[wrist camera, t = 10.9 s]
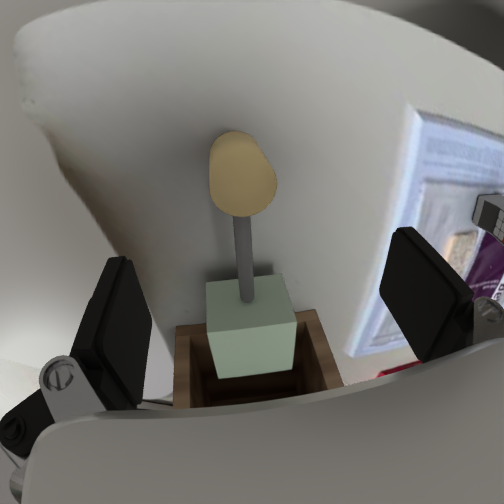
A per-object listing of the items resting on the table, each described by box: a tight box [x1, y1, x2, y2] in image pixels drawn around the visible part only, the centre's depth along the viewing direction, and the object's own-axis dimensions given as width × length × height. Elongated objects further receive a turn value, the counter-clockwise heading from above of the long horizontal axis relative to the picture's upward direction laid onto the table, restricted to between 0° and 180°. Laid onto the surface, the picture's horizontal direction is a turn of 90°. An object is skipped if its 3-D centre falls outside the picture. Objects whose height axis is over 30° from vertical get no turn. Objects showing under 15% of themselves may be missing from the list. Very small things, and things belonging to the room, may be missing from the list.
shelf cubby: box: [173, 310, 344, 409], centre depth 32 cm, size 18×16×14 cm
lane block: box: [206, 131, 297, 379], centre depth 23 cm, size 20×7×6 cm, turn 2°
